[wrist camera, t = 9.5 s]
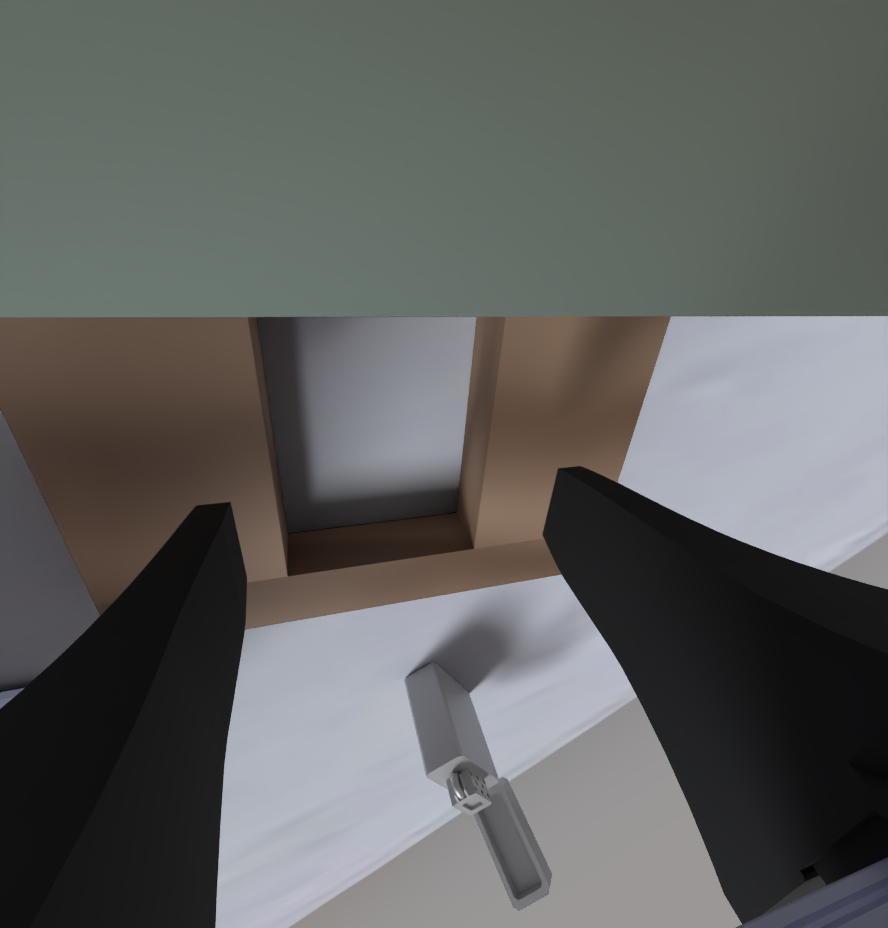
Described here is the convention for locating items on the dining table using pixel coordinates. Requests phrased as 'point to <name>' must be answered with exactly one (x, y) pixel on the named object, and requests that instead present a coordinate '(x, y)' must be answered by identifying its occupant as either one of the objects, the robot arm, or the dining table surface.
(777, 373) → the dining table surface
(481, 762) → the lighter
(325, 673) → the dining table surface
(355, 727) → the dining table surface
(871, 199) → the socket board
